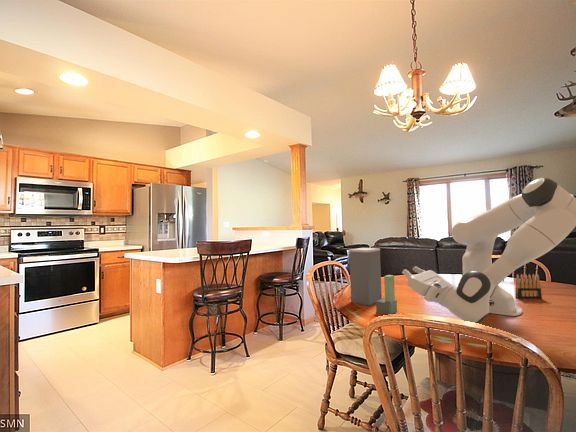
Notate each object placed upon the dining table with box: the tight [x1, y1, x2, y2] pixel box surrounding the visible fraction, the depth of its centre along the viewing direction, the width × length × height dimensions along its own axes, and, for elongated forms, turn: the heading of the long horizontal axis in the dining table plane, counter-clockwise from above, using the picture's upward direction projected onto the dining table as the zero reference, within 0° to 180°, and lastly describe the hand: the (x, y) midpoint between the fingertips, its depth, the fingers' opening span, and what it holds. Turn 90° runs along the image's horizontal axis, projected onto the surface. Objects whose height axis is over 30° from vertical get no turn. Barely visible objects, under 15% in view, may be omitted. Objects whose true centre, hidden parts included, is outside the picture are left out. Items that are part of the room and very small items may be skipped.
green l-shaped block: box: [375, 274, 398, 316], centre depth 128 cm, size 16×7×6 cm
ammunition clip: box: [515, 273, 543, 300], centre depth 144 cm, size 11×2×12 cm, turn 82°
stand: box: [348, 247, 383, 307], centre depth 147 cm, size 10×12×26 cm
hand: (408, 269), depth 121 cm, fingers open, 8 cm apart
